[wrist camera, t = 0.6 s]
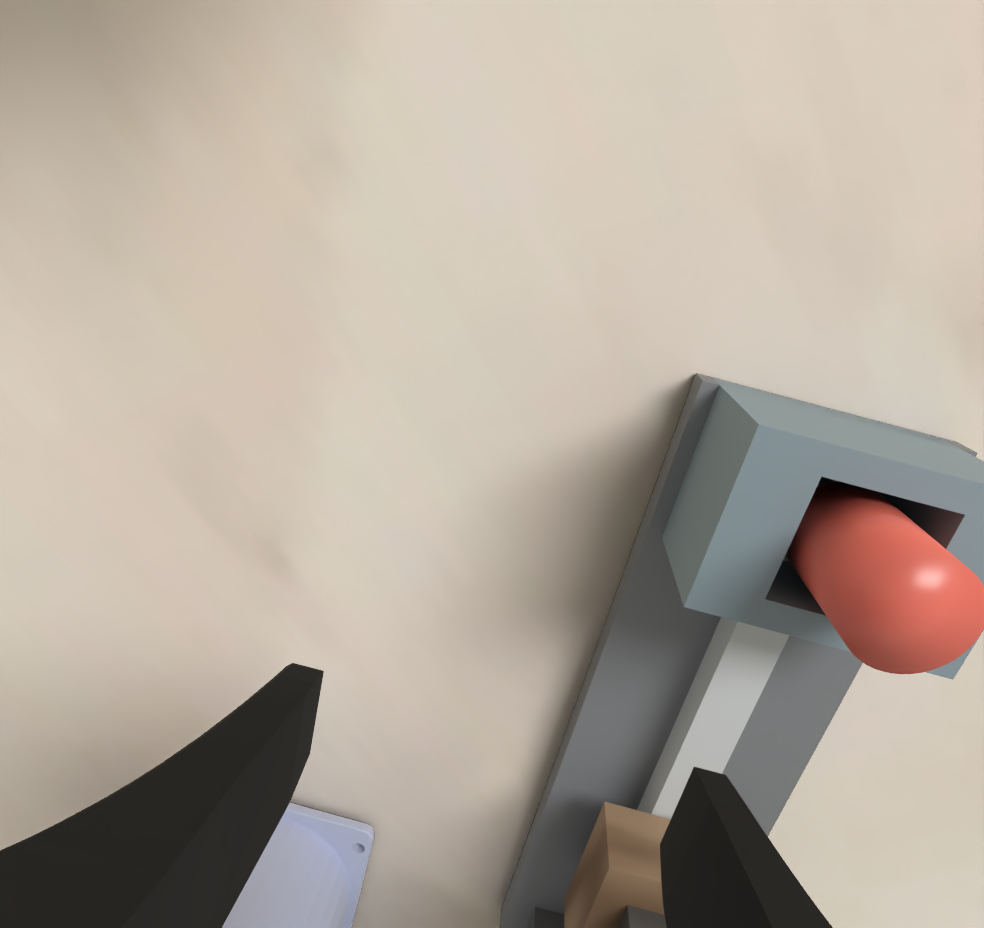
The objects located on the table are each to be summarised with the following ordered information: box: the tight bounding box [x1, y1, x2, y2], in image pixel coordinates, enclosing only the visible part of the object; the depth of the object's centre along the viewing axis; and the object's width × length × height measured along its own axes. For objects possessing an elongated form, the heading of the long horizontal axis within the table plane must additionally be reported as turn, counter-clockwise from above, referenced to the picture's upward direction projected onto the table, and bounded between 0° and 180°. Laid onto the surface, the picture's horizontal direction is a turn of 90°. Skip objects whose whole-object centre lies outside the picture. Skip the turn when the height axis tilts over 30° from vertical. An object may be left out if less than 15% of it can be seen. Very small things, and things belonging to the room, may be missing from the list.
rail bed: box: [500, 373, 984, 928], centre depth 21 cm, size 24×8×5 cm, turn 166°
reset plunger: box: [786, 482, 984, 674], centre depth 15 cm, size 3×3×4 cm
